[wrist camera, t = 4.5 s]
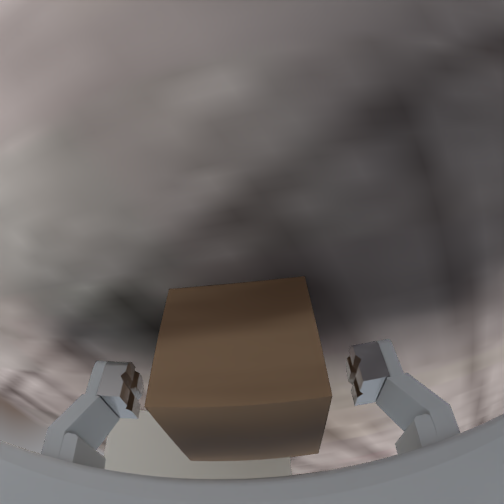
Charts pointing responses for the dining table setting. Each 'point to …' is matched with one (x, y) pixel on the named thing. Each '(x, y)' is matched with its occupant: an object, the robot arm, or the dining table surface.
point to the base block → (174, 455)
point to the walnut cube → (240, 372)
